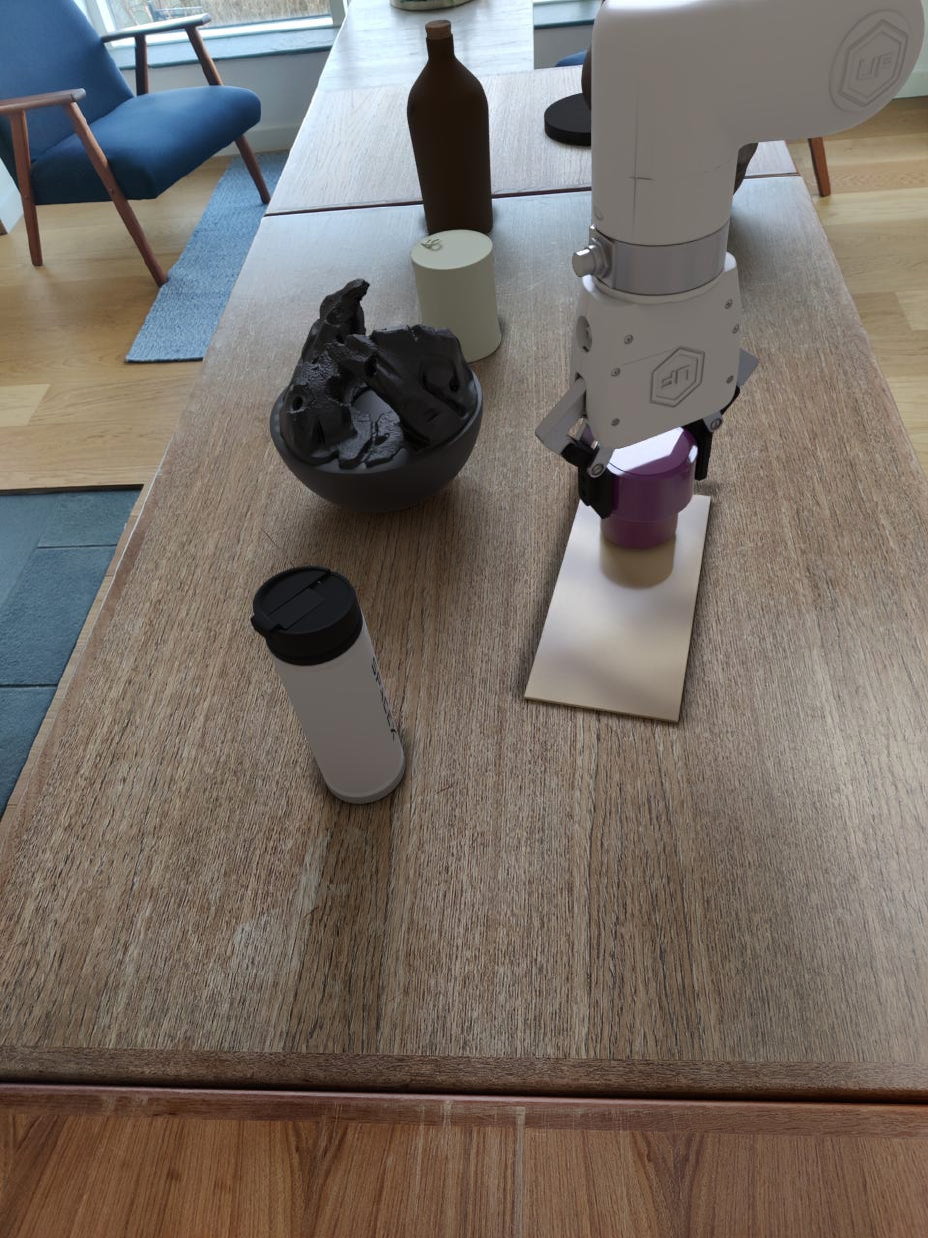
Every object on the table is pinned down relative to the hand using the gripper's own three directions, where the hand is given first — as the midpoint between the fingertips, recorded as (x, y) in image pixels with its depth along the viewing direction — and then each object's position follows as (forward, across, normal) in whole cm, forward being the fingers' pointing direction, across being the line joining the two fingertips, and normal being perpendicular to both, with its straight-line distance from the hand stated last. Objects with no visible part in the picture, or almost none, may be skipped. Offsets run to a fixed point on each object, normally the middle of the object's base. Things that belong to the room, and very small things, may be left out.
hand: (643, 486), depth 63 cm
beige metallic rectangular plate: (+15, +1, +4) cm, 15 cm away
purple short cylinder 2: (+15, +6, +9) cm, 18 cm away
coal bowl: (+15, -12, +27) cm, 33 cm away
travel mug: (+15, -26, -3) cm, 30 cm away
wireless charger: (+15, +51, +95) cm, 109 cm away
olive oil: (+15, +17, +75) cm, 79 cm away
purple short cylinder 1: (+1, 0, 0) cm, 1 cm away
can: (+15, +5, +48) cm, 50 cm away
